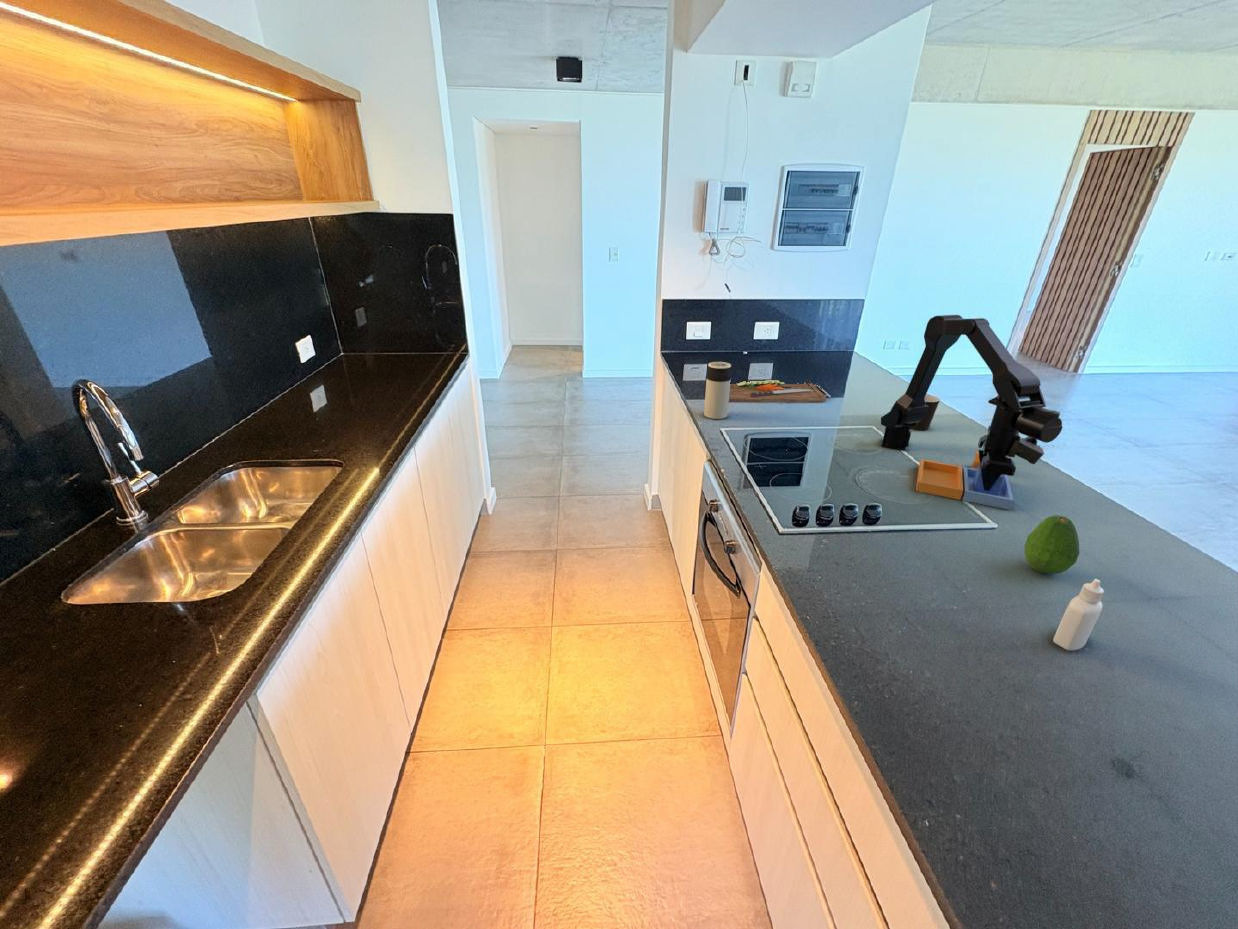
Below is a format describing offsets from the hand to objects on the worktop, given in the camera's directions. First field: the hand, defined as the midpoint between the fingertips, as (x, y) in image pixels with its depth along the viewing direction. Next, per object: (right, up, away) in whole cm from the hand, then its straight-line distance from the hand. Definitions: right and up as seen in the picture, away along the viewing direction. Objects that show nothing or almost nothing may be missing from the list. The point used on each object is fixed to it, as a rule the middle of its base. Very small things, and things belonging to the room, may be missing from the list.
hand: (985, 486), depth 130 cm
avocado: (-9, -15, -29) cm, 34 cm away
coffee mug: (+7, +18, +43) cm, 47 cm away
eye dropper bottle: (-19, -23, -46) cm, 55 cm away
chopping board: (-33, +34, +78) cm, 91 cm away
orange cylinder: (+7, +4, +12) cm, 14 cm away
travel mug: (-57, +22, +52) cm, 80 cm away
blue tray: (0, -1, +1) cm, 2 cm away
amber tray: (-9, +1, +5) cm, 10 cm away
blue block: (0, -1, 0) cm, 1 cm away
